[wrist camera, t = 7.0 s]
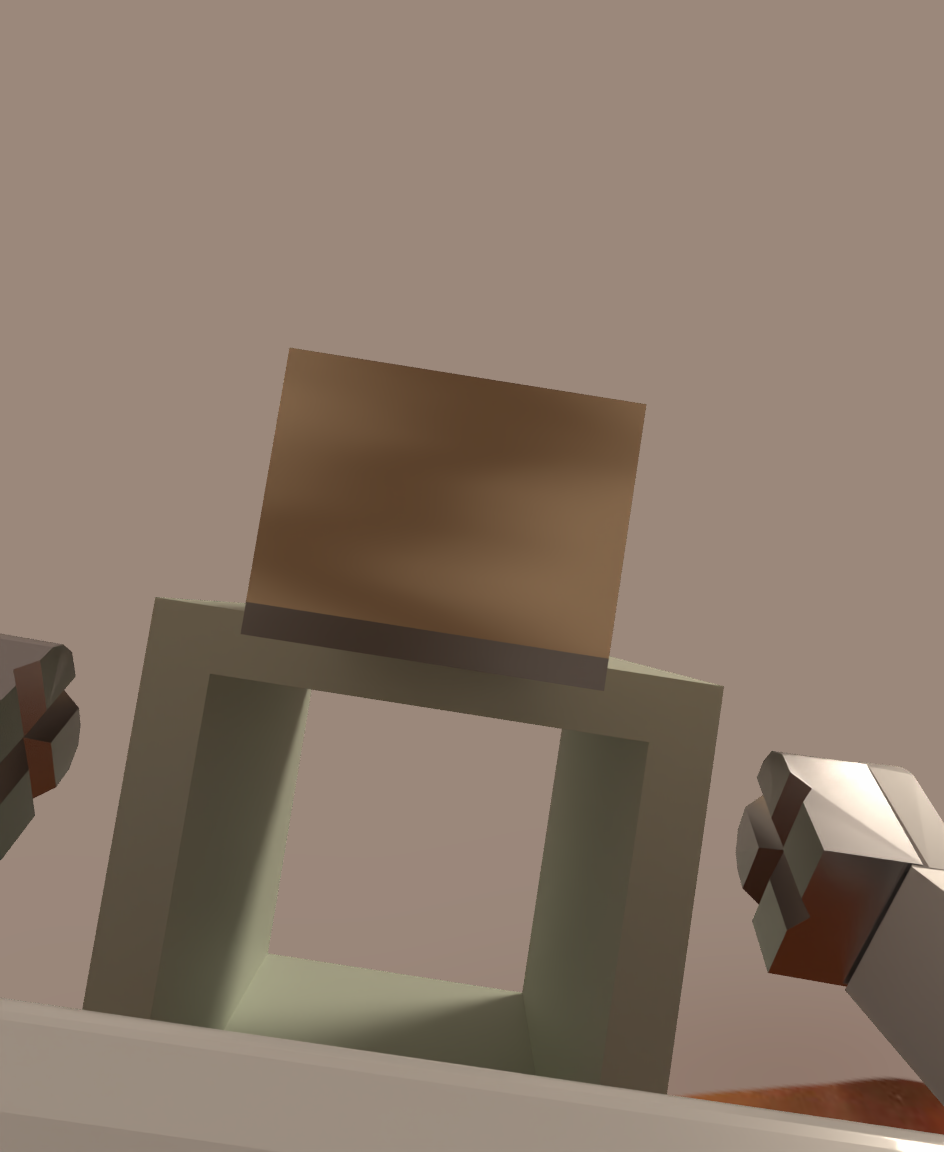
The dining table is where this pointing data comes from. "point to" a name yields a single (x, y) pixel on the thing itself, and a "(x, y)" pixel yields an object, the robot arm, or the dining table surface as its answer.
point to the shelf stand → (376, 998)
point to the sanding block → (444, 519)
